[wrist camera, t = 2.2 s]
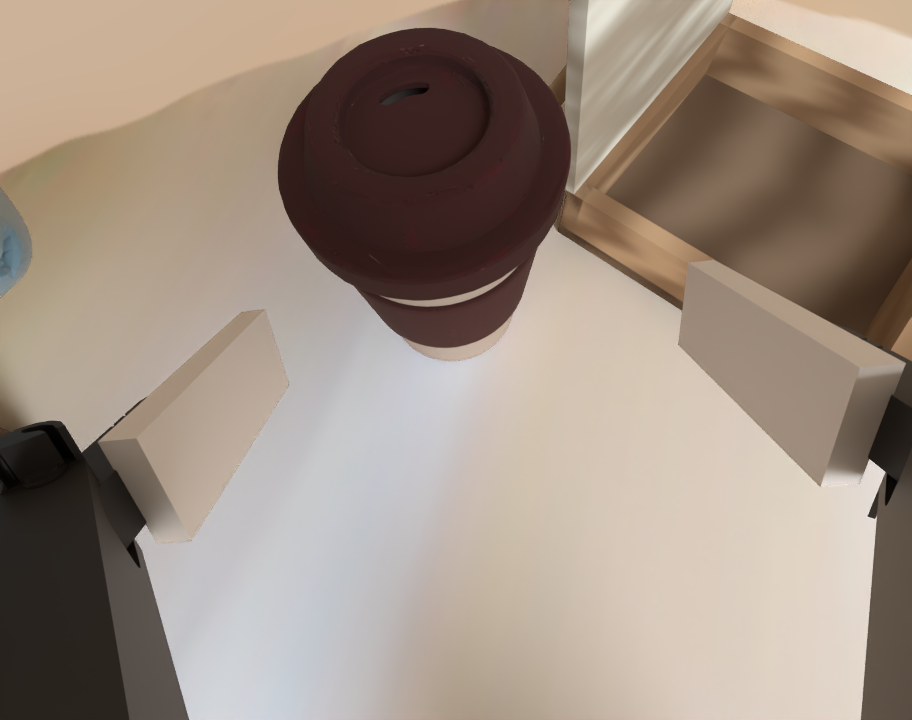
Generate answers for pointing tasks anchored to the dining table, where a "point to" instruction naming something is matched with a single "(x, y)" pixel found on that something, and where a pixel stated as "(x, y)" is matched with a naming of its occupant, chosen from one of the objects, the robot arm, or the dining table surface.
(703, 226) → the cold frame
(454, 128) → the coffee cup
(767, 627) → the dining table surface
